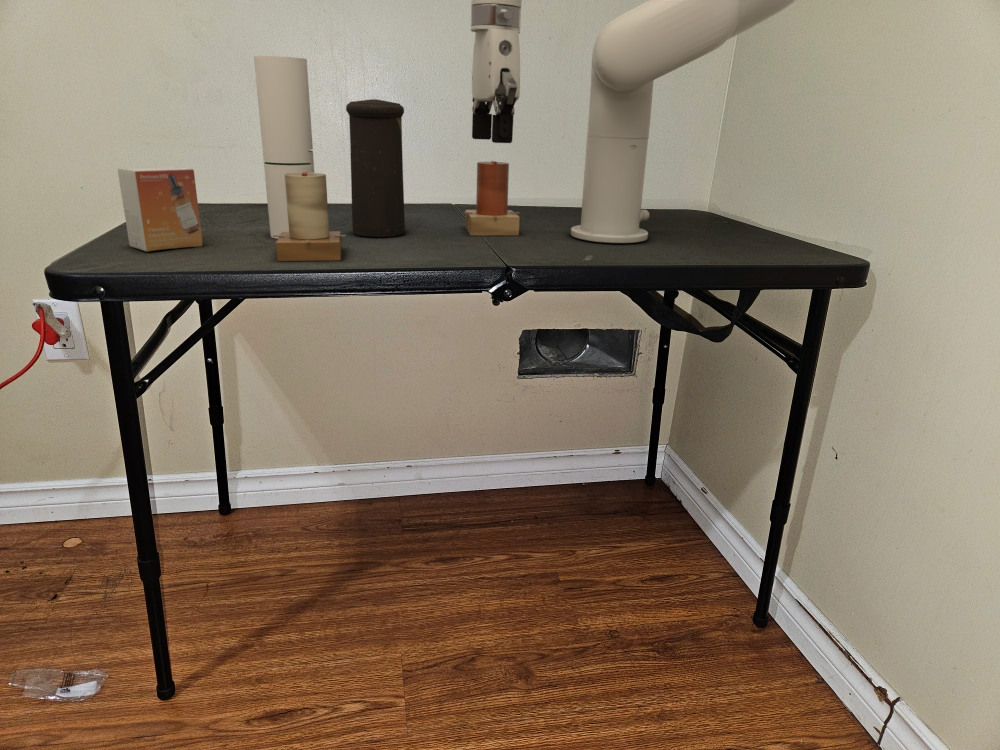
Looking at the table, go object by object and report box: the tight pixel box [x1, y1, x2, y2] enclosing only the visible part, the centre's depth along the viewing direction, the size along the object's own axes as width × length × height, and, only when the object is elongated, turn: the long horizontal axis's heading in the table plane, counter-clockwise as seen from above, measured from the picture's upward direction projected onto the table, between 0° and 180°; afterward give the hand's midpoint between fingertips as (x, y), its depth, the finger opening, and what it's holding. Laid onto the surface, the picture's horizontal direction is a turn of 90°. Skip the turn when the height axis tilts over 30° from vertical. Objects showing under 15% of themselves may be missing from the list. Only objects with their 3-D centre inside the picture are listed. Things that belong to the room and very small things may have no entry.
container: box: [345, 98, 406, 238], centre depth 106 cm, size 9×9×20 cm
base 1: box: [273, 230, 346, 262], centre depth 92 cm, size 9×9×3 cm
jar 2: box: [475, 160, 510, 215], centre depth 112 cm, size 5×5×8 cm
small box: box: [117, 165, 203, 252], centre depth 93 cm, size 8×6×10 cm
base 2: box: [463, 209, 521, 237], centre depth 114 cm, size 9×9×3 cm
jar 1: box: [285, 172, 330, 239], centre depth 90 cm, size 5×5×8 cm
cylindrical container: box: [253, 55, 315, 240], centre depth 101 cm, size 7×7×25 cm
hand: (491, 140), depth 109 cm, fingers open, 9 cm apart
